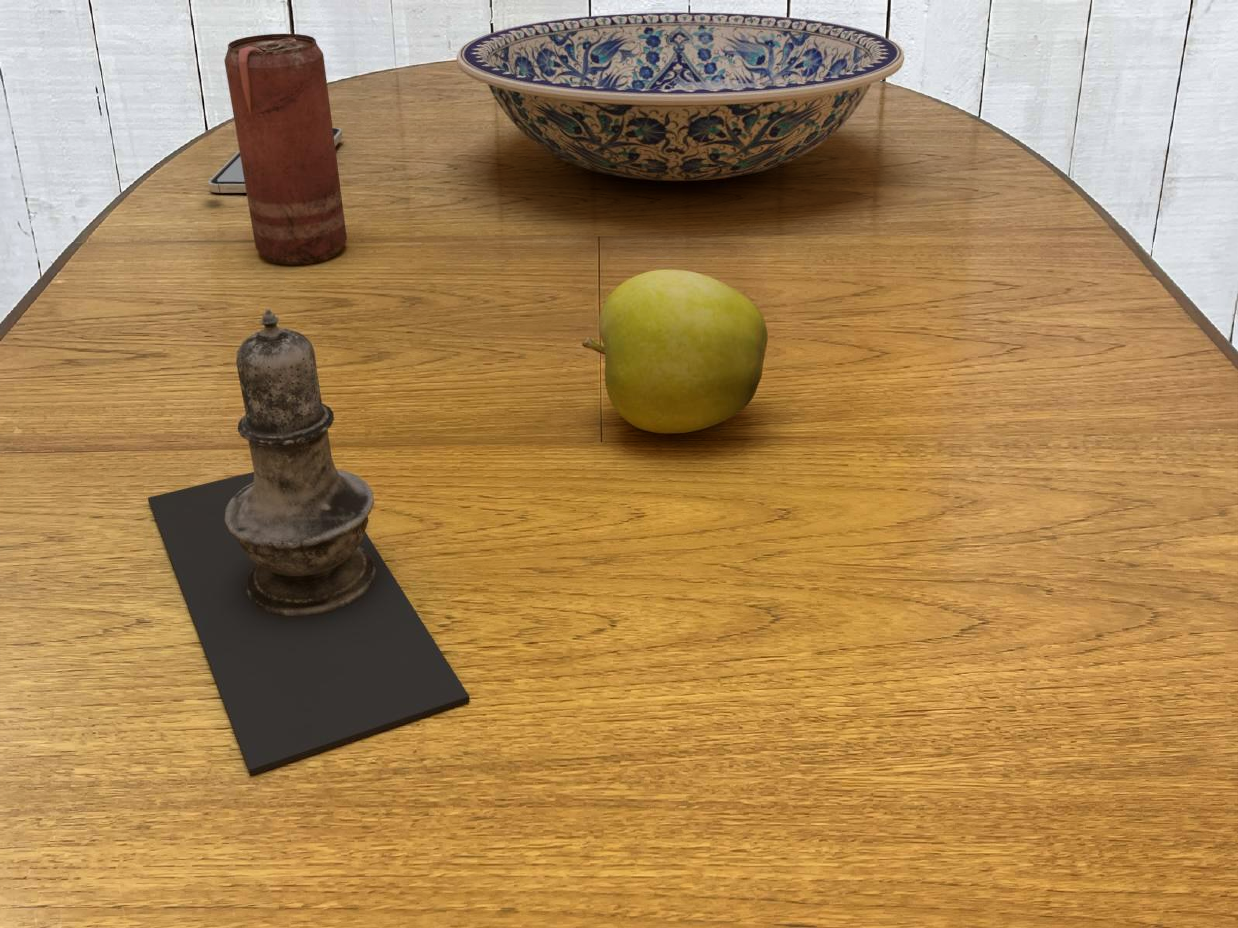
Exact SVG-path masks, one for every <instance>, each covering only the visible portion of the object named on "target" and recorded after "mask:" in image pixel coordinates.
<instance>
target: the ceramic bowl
mask: <svg viewBox="0 0 1238 928" xmlns="http://www.w3.org/2000/svg"><path fill="white" fill-rule="evenodd" d="M904 61H905V52H904V50H903V48H902V47H901V45H899V44H898V43H896V42H895V41H893V40H891V39H889V38H888V37H885V36H882V35H880V34H877V33H874V32H871V31H868V30H864V29H860V28H857V27H852V26H848V25H844V24H838V23H832V22H827V21H821V20H820V21H819V20H814V19H807V18H797V17H788V16H777V15H766V14H751V13H750V14H749V13H731V12H729V13H728V12H640V13H639V12H638V13H637V12H636V13H619V14H603V15H602V14H601V15H592V16H589V15H588V16H579V17H569V18H562V19H553V20H547V21H540V22H534V23H528V24H523V25H517V26H512V27H508V28H505V29H500V30H497V31H494V32H490V33H487V34H483V35H482V36H479V37H477V38H475V39H473V40H470V41H468V42H467V43H465V44H464V45H462V46H461V47H460V49H459V50H458V51H457V54H456V63H457V67H458V68H459V70H460V71H461V72H462V73H464V74H465V75H466V76H467V77H470V78H472V79H474V80H476V81H478V82H481V83H483V84H485V85H488V88H489V90H490V92H491V94H492V96H493V97H494V99H495V100H496V102H497V104H498V105H499V106H500V108H501V109H502V111H503V112H504V113H505V115H506V116H507V117H508V119H509V120H510V121H511V122H512V124H514V126H516V128H518V129H519V130H520V131H521V132H522V133H523V134H524V135H525V136H527V138H529V140H531V141H532V142H533V143H535V144H536V145H537V146H539V148H542V149H543V150H544V151H546V152H548V153H550V154H551V155H553V156H554V157H556V158H558V159H560V160H563V161H564V162H567V163H569V164H572V165H574V166H577V167H579V168H583V169H587V170H590V171H593V172H596V173H599V174H605V175H611V176H615V177H622V178H627V179H628V178H629V179H637V180H649V181H668V182H688V181H690V182H691V181H705V180H706V181H707V180H720V179H727V178H734V177H741V176H745V175H752V174H755V173H758V172H759V173H760V172H762V171H766V170H770V169H773V168H777V167H780V166H782V165H785V164H788V163H790V162H792V161H794V160H796V159H798V158H801V157H802V156H804V155H805V154H808V153H809V152H811V151H812V150H814V149H815V148H816V147H818V146H819V145H821V144H823V143H824V142H825V141H826V140H828V139H829V138H830V137H832V135H834V133H836V132H837V131H838V130H839V129H840V128H841V127H842V126H843V125H844V124H845V123H846V121H848V120H849V119H850V117H851V116H852V115H853V114H854V112H855V111H856V110H857V109H858V107H859V106H860V104H861V103H862V101H864V98H865V96H866V95H867V93H868V92H869V89H870V88H871V86H872V84H875V83H878V82H880V81H883V80H885V79H887V78H890V77H891V76H893V75H895V74H896V73H898V71H899V70H900V69H902V67H903V64H904Z"/></svg>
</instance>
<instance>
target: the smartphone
mask: <svg viewBox="0 0 1238 928" xmlns="http://www.w3.org/2000/svg"><path fill="white" fill-rule="evenodd" d="M333 134H334V142H335V147H336V146H338V144H339V143H340V141H341V140H342V139H343V130H342V128H339V127H333ZM208 189H209V191H210V192H211V193H217V194H230V193H231V194H234V193H235V194H247V193H246V187H245V181H244V175H243V169H242V163H241V157H240V151H239V150H238V151H237V152H236V153H235V154H234V155H233V156H231V158H230V159H229V160H228V161H227V162H226V163H225V164H224V165H223V166H222V167H221V168H220V169H219V170H218V171H217V172H216V173H215V174H214V175H213V176H212V177H211V178H209V180H208Z"/></svg>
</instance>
